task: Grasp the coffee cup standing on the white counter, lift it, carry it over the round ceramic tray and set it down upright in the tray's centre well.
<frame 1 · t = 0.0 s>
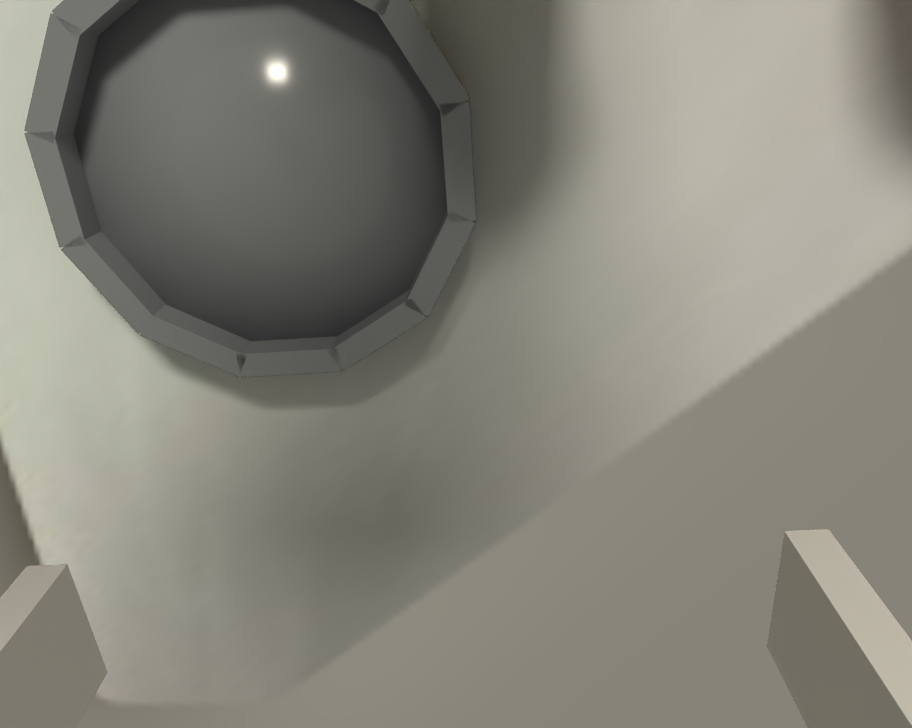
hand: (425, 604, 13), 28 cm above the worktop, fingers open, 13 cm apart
tray: (270, 167, 37), on the worktop
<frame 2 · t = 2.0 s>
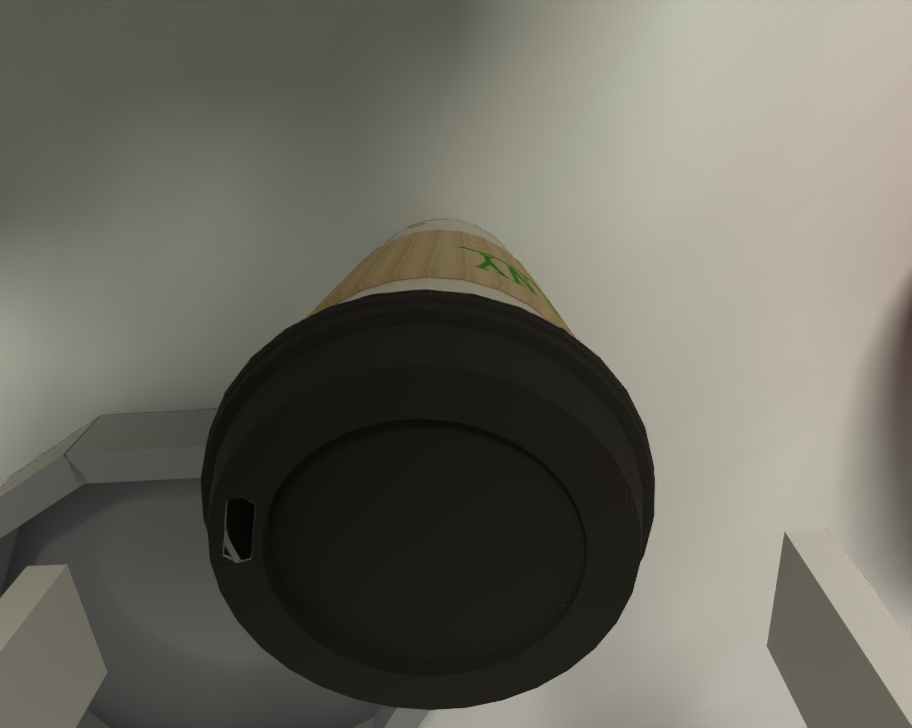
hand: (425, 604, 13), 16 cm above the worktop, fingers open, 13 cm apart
coffee cup: (444, 296, 28), on the worktop
tray: (220, 604, 34), on the worktop
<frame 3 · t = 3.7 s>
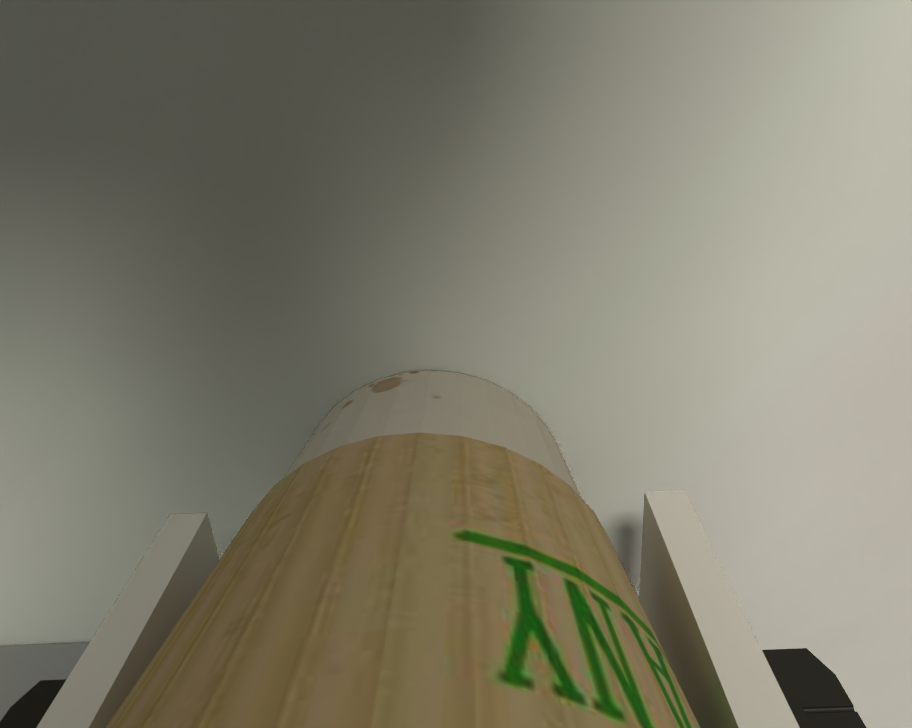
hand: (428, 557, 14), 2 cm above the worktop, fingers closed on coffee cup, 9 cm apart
coffee cup: (434, 484, 17), on the worktop, touching gripper
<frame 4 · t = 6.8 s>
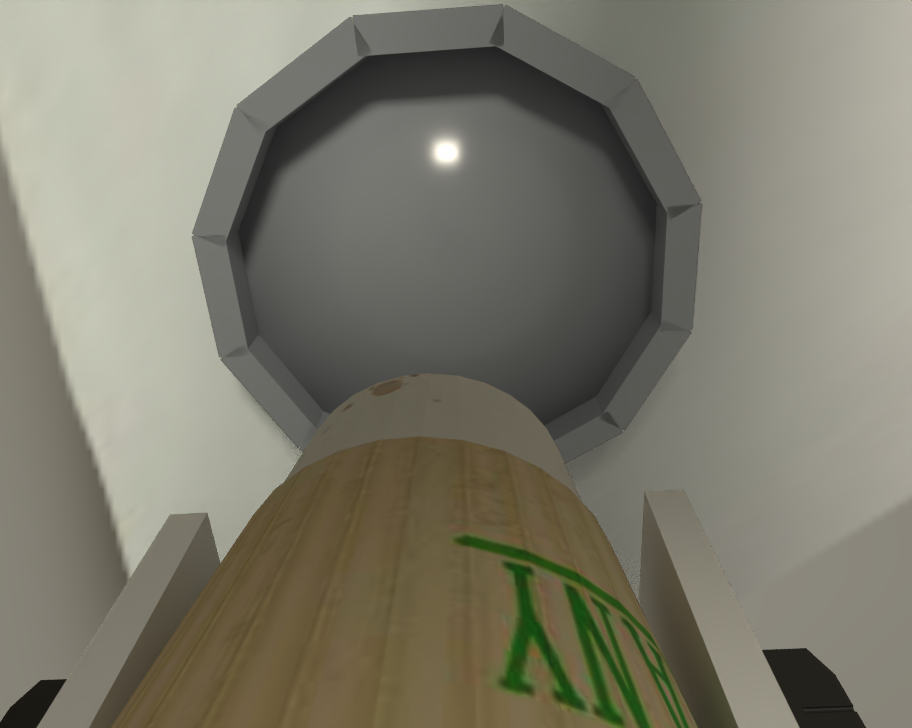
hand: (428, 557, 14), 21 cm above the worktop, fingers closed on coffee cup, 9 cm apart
coffee cup: (434, 486, 17), point 18 cm above the worktop, touching gripper
tray: (449, 264, 33), on the worktop
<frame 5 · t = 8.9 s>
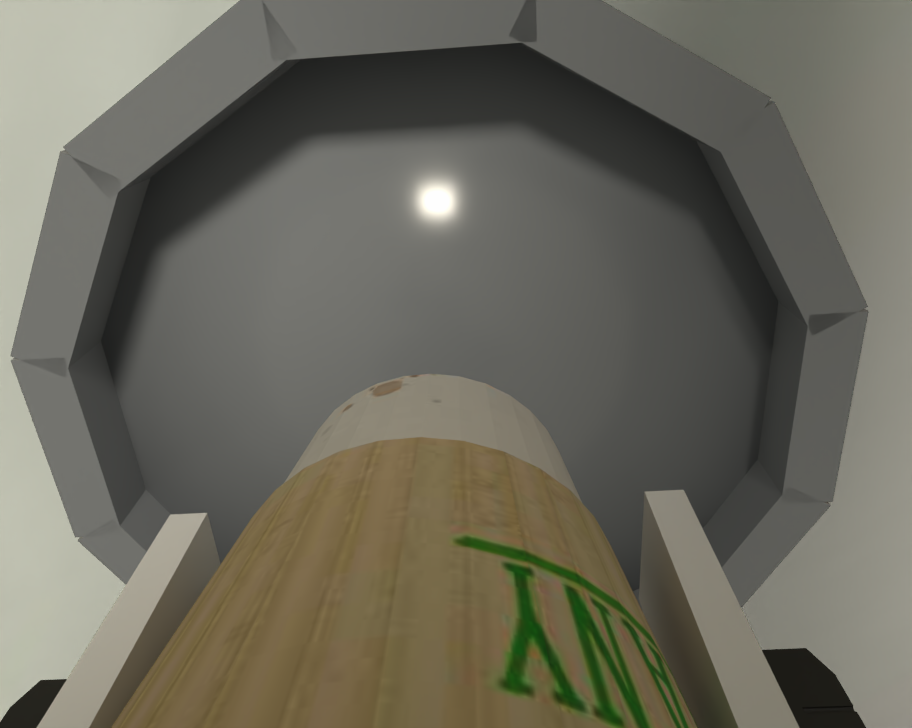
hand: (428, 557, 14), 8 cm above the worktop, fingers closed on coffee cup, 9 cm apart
coffee cup: (434, 487, 17), point 5 cm above the worktop, touching gripper
tray: (441, 383, 21), on the worktop
when the fingers open (5 cm above the worktop, at t = 10.1 s): coffee cup moves 3 cm, resting on tray.
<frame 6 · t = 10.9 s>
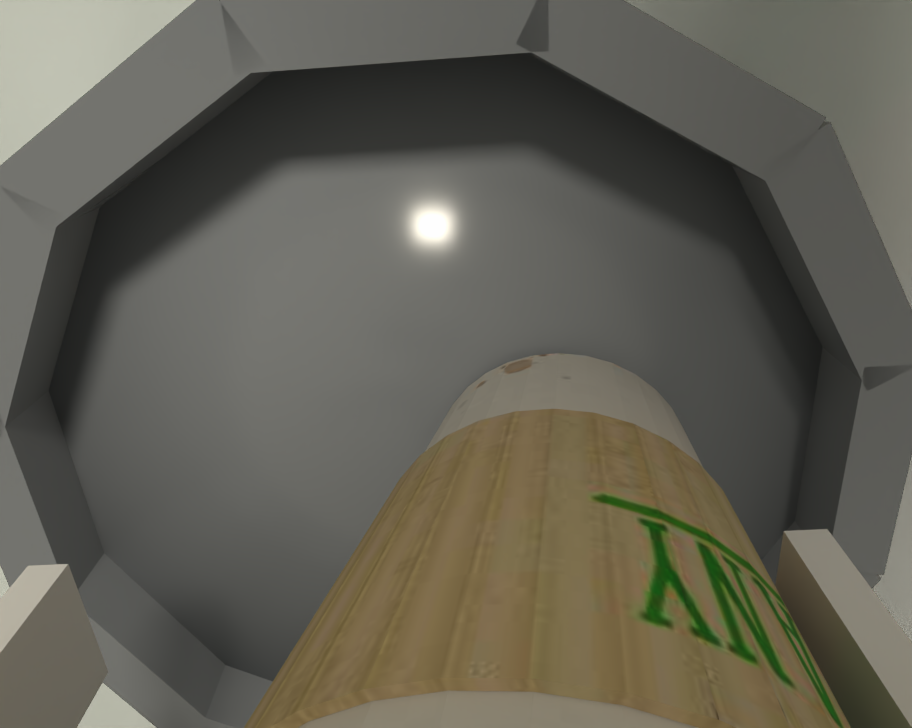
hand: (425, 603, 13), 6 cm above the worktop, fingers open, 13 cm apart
coffee cup: (560, 462, 18), point 1 cm above the worktop, touching gripper, tray
tray: (437, 434, 19), on the worktop
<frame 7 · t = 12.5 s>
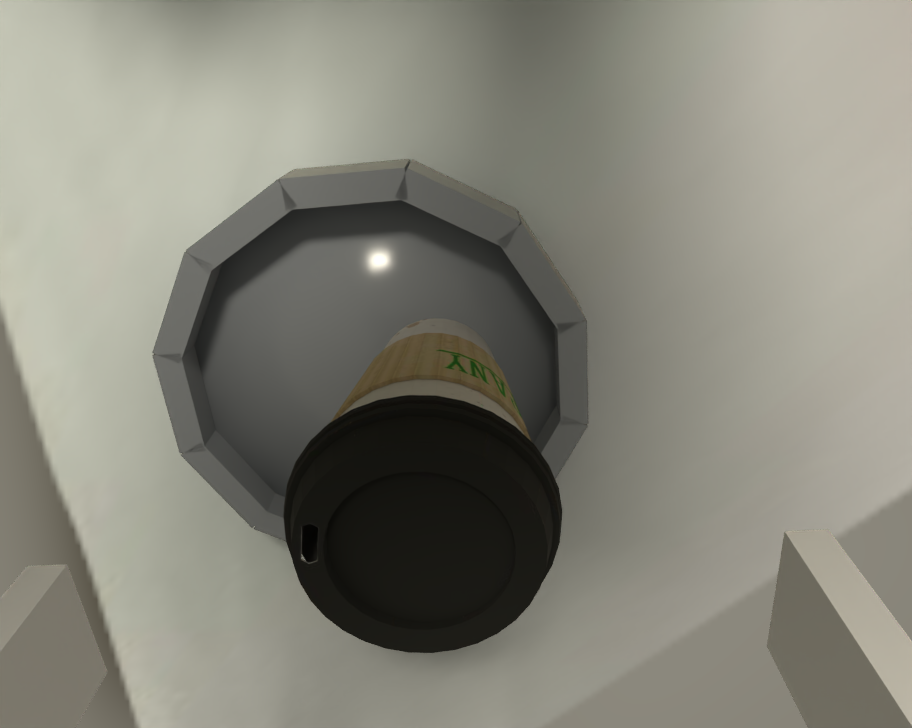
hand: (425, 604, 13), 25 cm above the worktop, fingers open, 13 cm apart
coffee cup: (437, 372, 37), point 1 cm above the worktop, touching tray
tray: (380, 366, 38), on the worktop
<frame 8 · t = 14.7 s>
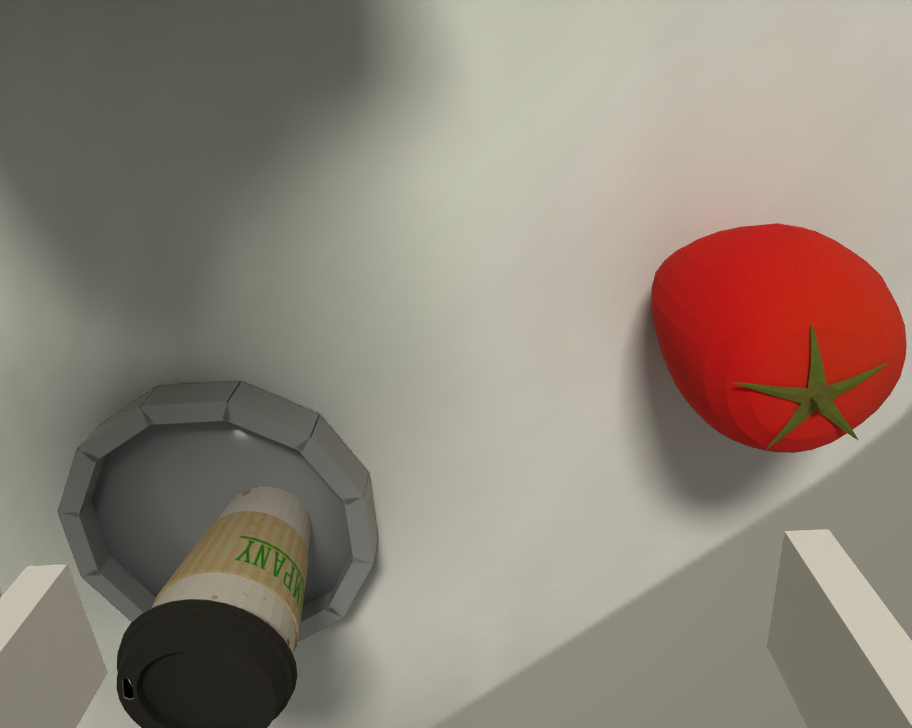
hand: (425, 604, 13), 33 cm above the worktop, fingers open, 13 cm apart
coffee cup: (269, 520, 51), point 1 cm above the worktop, touching tray
tomato: (725, 290, 45), on the worktop
tray: (230, 512, 52), on the worktop
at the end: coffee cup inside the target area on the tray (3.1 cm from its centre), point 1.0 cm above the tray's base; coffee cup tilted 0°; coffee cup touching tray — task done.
